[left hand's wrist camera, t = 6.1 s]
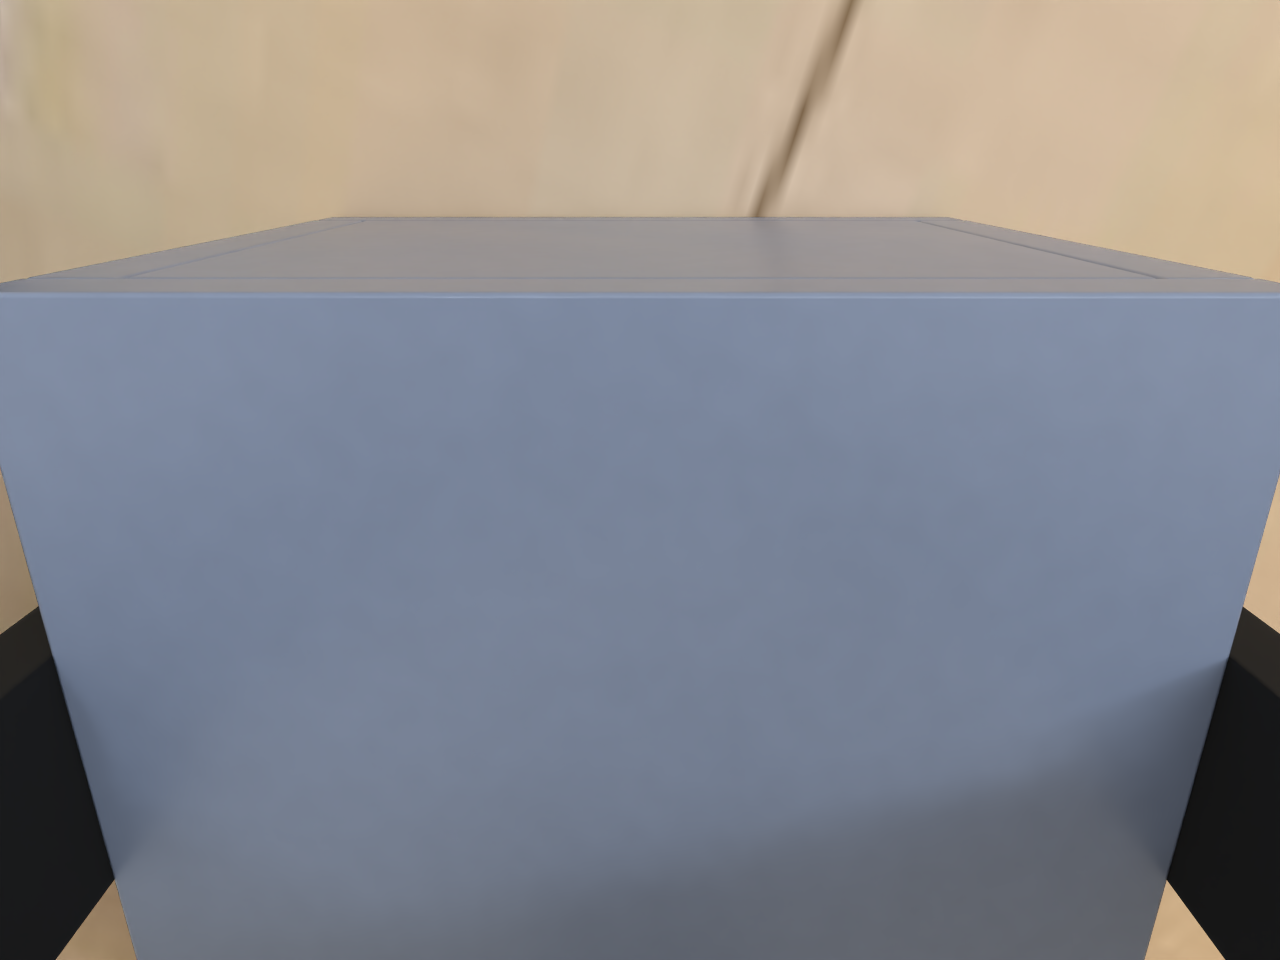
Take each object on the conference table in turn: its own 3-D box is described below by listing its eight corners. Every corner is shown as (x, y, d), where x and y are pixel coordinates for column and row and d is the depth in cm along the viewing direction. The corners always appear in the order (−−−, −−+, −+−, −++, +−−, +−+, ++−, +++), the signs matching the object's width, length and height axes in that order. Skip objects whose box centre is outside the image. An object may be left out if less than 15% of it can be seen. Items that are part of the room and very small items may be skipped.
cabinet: (864, 927, 21) (1013, 1438, 13) (416, 926, 21) (268, 1437, 13) (950, 217, 15) (1334, 292, 7) (330, 217, 15) (-53, 292, 7)
